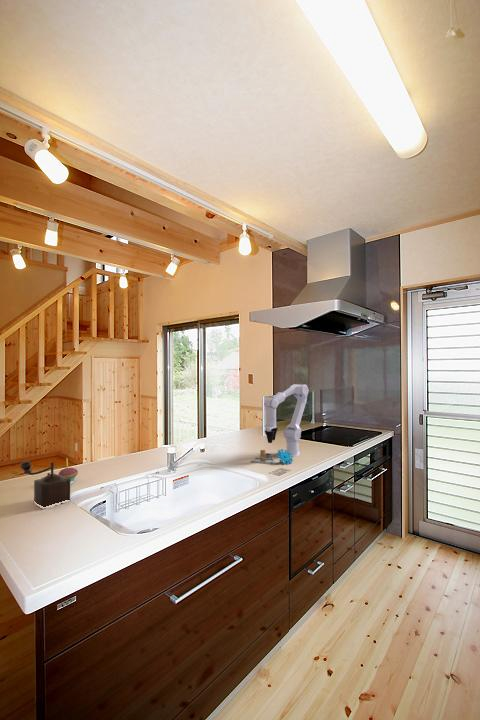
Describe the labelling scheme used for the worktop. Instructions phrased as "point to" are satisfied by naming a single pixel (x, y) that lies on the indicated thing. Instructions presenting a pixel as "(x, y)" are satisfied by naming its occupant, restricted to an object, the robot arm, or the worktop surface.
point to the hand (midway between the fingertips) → (271, 441)
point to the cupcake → (69, 472)
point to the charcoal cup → (269, 455)
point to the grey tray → (257, 460)
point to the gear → (285, 456)
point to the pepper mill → (48, 486)
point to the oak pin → (263, 455)
